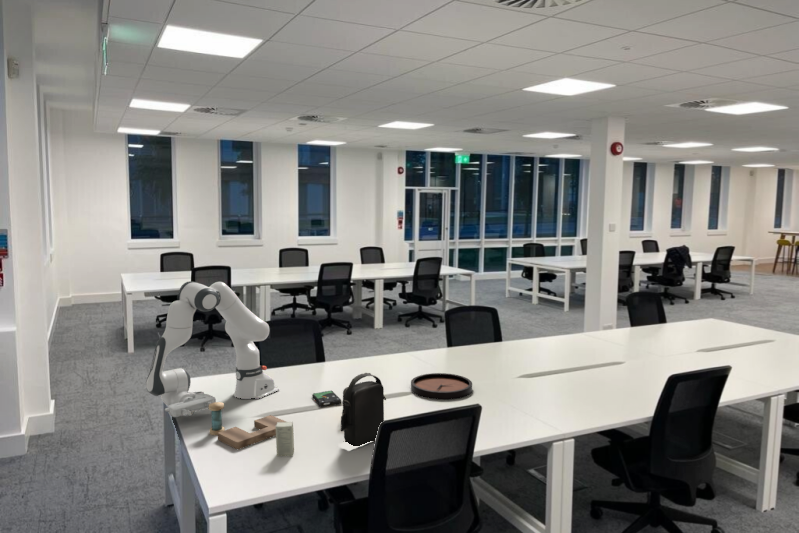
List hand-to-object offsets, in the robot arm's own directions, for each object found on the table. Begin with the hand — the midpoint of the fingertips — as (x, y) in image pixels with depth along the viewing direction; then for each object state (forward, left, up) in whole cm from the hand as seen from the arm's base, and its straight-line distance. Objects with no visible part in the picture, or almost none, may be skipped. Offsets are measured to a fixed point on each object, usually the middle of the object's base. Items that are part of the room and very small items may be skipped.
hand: (201, 410), depth 252 cm
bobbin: (0, +12, -7) cm, 14 cm away
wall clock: (-107, +48, -7) cm, 117 cm away
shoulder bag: (-35, +63, -7) cm, 72 cm away
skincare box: (-6, +50, -7) cm, 51 cm away
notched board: (-9, +26, -7) cm, 28 cm away
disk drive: (-56, +17, -7) cm, 59 cm away
